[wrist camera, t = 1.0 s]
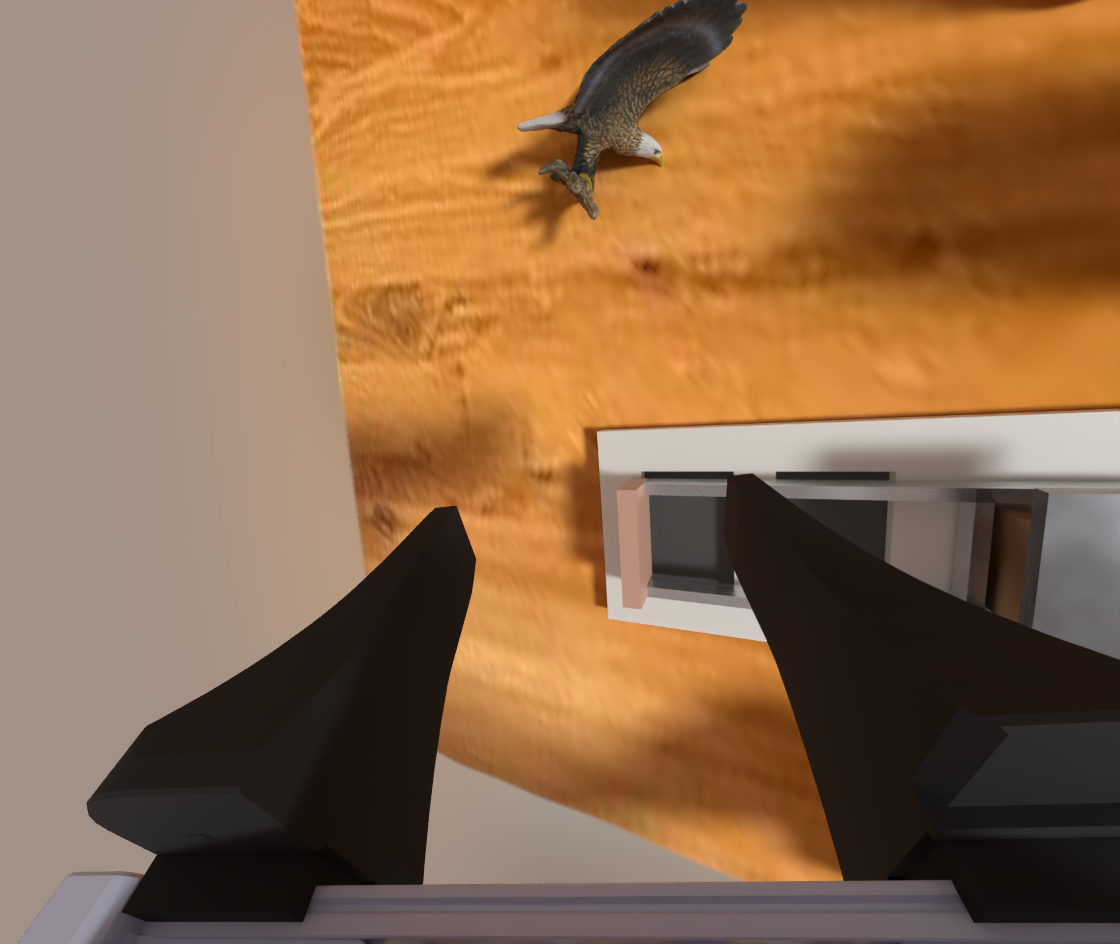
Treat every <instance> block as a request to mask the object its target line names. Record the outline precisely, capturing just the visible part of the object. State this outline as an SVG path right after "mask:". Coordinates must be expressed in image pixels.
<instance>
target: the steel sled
mask: <svg viewBox="0 0 1120 944" xmlns="http://www.w3.org/2000/svg"><path fill="white" fill-rule="evenodd" d="M761 480H763V481H764V482H765V483H767V484H768V485H769V486H771V487H772V488H773V489H775V490H776V491H777V492H779V493H780V494H781V495H783V496H784V497H785V498H798V499H842V500H886V501H930V502H959V508H958V520H957V531H956V543H955V554H954V566H953V577H952V589H951V595H953V596H955V597H958V598H960V599H962V600H964V601H966V602H969V603H971V604H973V605H976V606H978V607H980V608H983V609H984V608H985V598H986V588H987V578H988V568H989V559H990V549H991V539H992V529H993V519H994V509H995V503H1018V504H1032V502H1033V493H1034V488H1108V489H1120V482H1075V481H933V480H792V479H761ZM726 491H727V479H650V478H631V479H630V480H628V481H627V482H626V483H625V484H623V485H622V486H621V487H620V488H618V489H617V508H618V527H619V546H620V564H621V583H622V601H623V607H626V608H633V609H642V607H643V605H644V603H645V600H646V598H647V597H652V598H661V599H669V600H677V601H686V602H694V603H703V604H711V605H719V606H728V607H736V608H744V609H752V608H751V606H750V604H749V602H748V600H747V598H746V595H745V593H744V591H743V589H742V587H741V585H737V584H727V583H717V582H707V581H697V580H687V579H677V578H667V577H656V576H652V557H651V532H650V508H649V495H667V496H711V497H726ZM985 610H987V611H990V610H989V609H985ZM990 612H991V611H990Z"/></svg>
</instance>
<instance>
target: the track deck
mask: <svg viewBox="0 0 1120 944" xmlns="http://www.w3.org/2000/svg"><path fill="white" fill-rule="evenodd" d="M597 439H598V456H599V473H600V489H601V506H602V522H603V539H604V555H605V572H606V589H607V605H608V619H613V620H620V621H627V622H634V623H641V624H648V625H655V626H662V627H668V628H675V629H682V630H689V631H696V632H703V633H710V634H717V635H723V636H730V637H737V638H744V639H751V640H758V641H765V642H767V640H766V638H765V636H764V634H763V632H762V630H761V628H760V625H759V623H758V621H757V619H756V617H755V615H754V613H753V610H752V609H744V608H736V607H728V606H719V605H711V604H703V603H694V602H686V601H677V600H669V599H661V598H652V597H647V598H646V600H645V603H644V605H643V607H642V609H633V608H626V607H623V601H622V583H621V564H620V546H619V527H618V508H617V489H618V488H620V487H621V486H622V485H623V484H625V483H626V482H627V481H628V480H630V479H631V478H650V479H727V476H731V475H740V474H749V473H753V474H754V475H756V476H757V477H758V478H760V479H792V480H933V481H1075V482H1120V408H1119V409H1095V410H1070V411H1046V412H1022V413H997V414H973V415H948V416H924V417H900V418H875V419H851V420H826V421H802V422H777V423H753V424H729V425H704V426H680V427H655V428H631V429H607V430H601V431H597ZM787 499H788V500H789V501H791V502H792V503H793V504H795V505H796V506H798V507H799V508H800V509H802V510H803V511H805V512H806V513H807V514H809V515H810V516H812V517H813V518H815V519H816V520H818V521H819V522H820V523H822V524H823V525H825V526H826V527H828V528H829V529H831V530H833V531H834V532H836V533H837V534H839V535H840V536H842V537H844V538H845V539H847V540H848V541H850V542H852V543H853V544H855V545H857V546H858V547H860V548H861V549H863V550H865V551H867V552H868V553H870V554H872V555H874V556H875V557H877V558H879V559H881V560H883V561H885V562H887V563H888V564H890V565H892V566H894V567H896V568H898V569H900V570H901V571H903V572H905V573H907V574H909V575H911V576H913V577H915V578H917V579H919V580H921V581H923V582H925V583H927V584H929V585H931V586H934V587H936V588H938V589H940V590H942V591H945V592H947V593H949V594H951V589H952V577H953V566H954V554H955V543H956V531H957V520H958V508H959V502H930V501H886V500H842V499H798V498H787ZM725 505H726V497H711V496H667V495H649V508H650V532H651V557H652V576H656V577H667V578H677V579H687V580H697V581H707V582H717V583H727V584H737V585H741V584H740V582H739V580H738V578H737V576H736V573H735V571H734V568H733V565H732V562H731V559H730V556H729V553H728V550H727V546H726V543H725V540H724V536H723V533H724V519H725ZM984 609H988V608H987V607H986V606H985V608H984Z"/></svg>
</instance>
